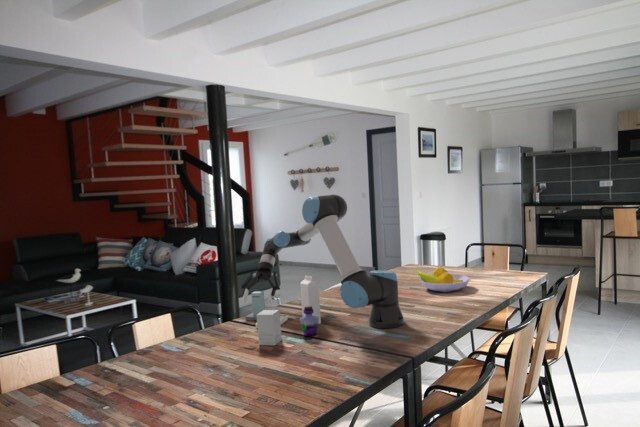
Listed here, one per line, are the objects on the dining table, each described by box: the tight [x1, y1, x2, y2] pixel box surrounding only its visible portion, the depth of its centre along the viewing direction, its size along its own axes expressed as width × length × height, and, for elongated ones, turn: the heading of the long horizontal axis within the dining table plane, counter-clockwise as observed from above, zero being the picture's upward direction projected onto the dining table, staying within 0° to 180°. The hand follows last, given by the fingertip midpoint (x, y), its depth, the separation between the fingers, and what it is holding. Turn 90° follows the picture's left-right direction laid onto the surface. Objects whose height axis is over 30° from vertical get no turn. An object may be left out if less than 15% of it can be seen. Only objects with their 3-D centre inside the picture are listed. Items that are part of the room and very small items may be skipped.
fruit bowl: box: [414, 267, 471, 293], centre depth 264 cm, size 28×27×11 cm
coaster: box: [245, 312, 257, 321], centre depth 235 cm, size 10×10×2 cm
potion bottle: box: [299, 306, 319, 338], centre depth 201 cm, size 9×9×12 cm
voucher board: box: [255, 314, 288, 329], centre depth 222 cm, size 14×10×2 cm
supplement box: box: [256, 309, 283, 346], centre depth 194 cm, size 7×7×13 cm
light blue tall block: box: [251, 290, 266, 315], centre depth 234 cm, size 5×4×11 cm
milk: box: [299, 275, 322, 325], centre depth 216 cm, size 6×6×22 cm
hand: (256, 301), depth 232 cm, fingers open, 13 cm apart
